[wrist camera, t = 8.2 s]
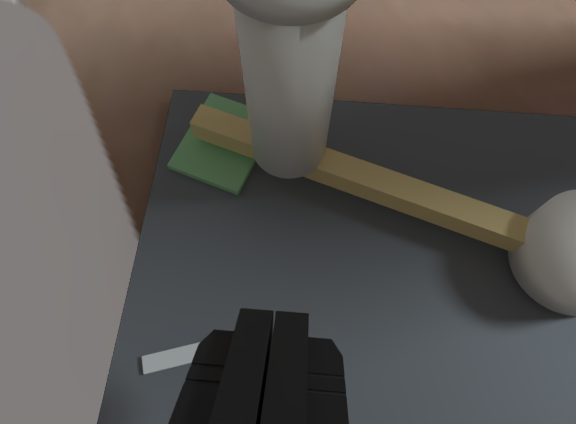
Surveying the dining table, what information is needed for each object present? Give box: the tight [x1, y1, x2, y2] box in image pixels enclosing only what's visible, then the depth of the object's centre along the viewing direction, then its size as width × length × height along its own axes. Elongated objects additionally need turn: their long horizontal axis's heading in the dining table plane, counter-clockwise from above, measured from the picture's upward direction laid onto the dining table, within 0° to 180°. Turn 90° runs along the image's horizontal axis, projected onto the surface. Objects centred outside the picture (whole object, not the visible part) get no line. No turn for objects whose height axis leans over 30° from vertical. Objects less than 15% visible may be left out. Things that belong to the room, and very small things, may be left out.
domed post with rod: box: [190, 0, 576, 316], centre depth 13 cm, size 17×4×10 cm, turn 68°
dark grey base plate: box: [97, 90, 576, 424], centre depth 17 cm, size 14×18×1 cm
